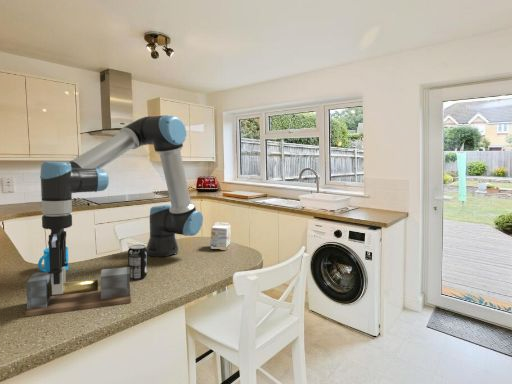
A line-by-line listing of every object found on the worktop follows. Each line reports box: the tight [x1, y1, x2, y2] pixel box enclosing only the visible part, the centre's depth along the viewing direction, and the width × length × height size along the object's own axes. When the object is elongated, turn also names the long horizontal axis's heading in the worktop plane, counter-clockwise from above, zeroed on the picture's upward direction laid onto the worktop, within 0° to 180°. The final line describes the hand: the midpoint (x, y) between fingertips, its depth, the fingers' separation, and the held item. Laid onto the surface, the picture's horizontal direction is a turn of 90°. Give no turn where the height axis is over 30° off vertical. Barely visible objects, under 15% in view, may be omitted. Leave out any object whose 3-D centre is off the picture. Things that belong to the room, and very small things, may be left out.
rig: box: [25, 266, 132, 318], centre depth 97 cm, size 27×12×9 cm, turn 113°
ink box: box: [210, 221, 232, 247], centre depth 163 cm, size 9×8×13 cm
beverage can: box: [127, 244, 148, 281], centre depth 118 cm, size 7×7×12 cm
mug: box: [37, 246, 69, 272], centre depth 123 cm, size 12×8×8 cm
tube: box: [47, 278, 99, 297], centre depth 96 cm, size 16×4×4 cm, turn 113°
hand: (59, 290), depth 95 cm, fingers closed on tube, 4 cm apart
